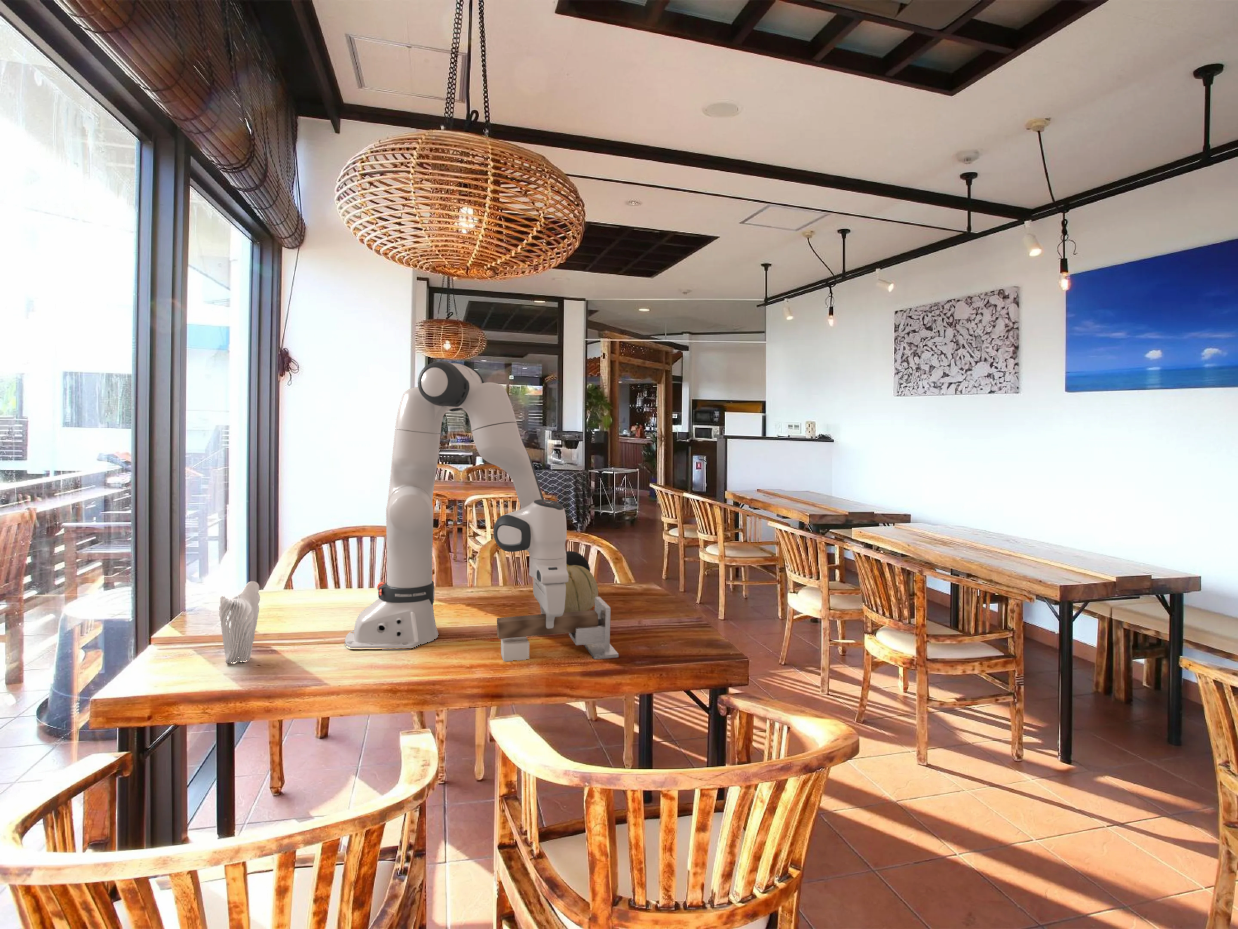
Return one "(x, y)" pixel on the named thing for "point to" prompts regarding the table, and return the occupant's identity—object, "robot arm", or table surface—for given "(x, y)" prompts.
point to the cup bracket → (597, 634)
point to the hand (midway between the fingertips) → (547, 624)
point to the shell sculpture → (239, 622)
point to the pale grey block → (515, 649)
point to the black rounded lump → (576, 559)
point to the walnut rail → (536, 624)
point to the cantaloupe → (580, 589)
